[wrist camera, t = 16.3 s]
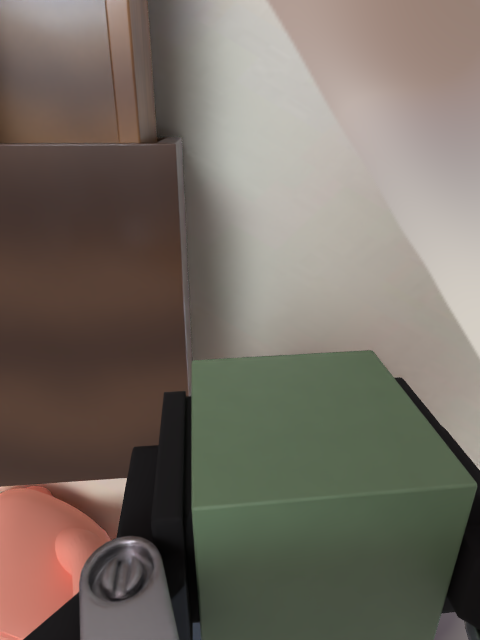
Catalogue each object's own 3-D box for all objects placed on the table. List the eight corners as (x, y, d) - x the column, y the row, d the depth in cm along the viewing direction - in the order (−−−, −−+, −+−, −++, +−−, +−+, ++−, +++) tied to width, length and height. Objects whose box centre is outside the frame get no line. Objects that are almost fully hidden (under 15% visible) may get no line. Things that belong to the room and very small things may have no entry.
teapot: (195, 511, 36) (197, 681, 25) (26, 626, 40) (-39, 820, 29) (72, 410, 31) (6, 566, 20) (-109, 553, 35) (-250, 752, 24)
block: (191, 359, 11) (191, 509, 7) (372, 349, 11) (479, 484, 7) (199, 498, 12) (204, 683, 8) (354, 485, 13) (431, 655, 9)
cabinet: (-55, 137, 24) (-225, 144, 14) (182, 137, 25) (175, 143, 15) (3, 373, 29) (-89, 493, 20) (192, 364, 31) (193, 473, 21)
